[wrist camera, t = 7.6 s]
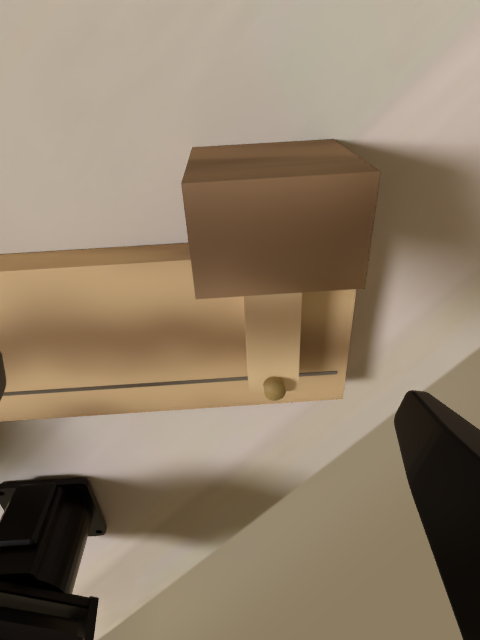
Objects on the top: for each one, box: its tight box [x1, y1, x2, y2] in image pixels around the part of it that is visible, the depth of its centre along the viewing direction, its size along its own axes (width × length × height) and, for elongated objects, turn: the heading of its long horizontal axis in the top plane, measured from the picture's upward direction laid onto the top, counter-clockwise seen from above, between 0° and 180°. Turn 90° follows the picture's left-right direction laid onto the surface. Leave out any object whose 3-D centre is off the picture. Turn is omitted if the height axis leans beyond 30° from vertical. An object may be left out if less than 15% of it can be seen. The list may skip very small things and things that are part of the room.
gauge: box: [181, 139, 380, 401], centre depth 18 cm, size 11×6×6 cm, turn 3°
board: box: [0, 243, 356, 422], centre depth 21 cm, size 9×22×2 cm, turn 93°
